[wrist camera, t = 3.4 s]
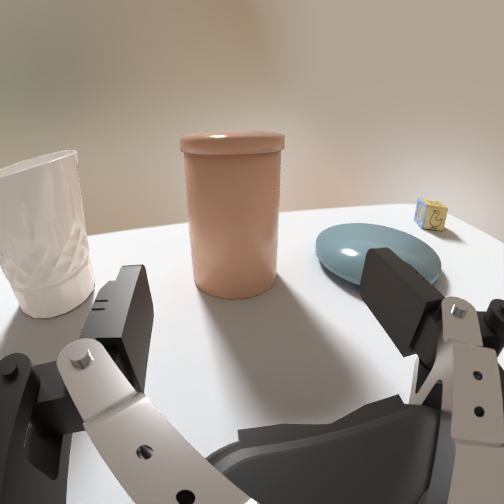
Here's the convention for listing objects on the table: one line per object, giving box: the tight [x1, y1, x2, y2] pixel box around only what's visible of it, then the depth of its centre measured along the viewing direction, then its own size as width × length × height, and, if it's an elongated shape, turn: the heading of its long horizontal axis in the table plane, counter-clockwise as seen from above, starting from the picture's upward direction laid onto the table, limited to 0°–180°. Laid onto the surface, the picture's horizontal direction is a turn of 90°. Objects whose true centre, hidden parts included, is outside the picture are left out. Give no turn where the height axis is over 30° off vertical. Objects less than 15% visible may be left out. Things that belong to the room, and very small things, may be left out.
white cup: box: [0, 150, 95, 318], centre depth 17 cm, size 8×8×10 cm
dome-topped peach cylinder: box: [180, 131, 285, 299], centre depth 20 cm, size 6×6×10 cm
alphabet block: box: [414, 198, 448, 231], centre depth 31 cm, size 3×3×3 cm
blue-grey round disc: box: [316, 223, 441, 286], centre depth 23 cm, size 11×11×1 cm
